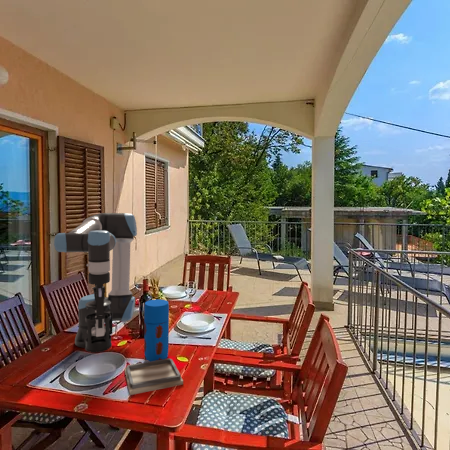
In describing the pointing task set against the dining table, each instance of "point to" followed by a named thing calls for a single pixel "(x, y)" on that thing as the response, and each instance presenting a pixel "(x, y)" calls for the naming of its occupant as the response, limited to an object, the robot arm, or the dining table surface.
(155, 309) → the thermos
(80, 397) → the dining table surface
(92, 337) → the french press
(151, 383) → the board
